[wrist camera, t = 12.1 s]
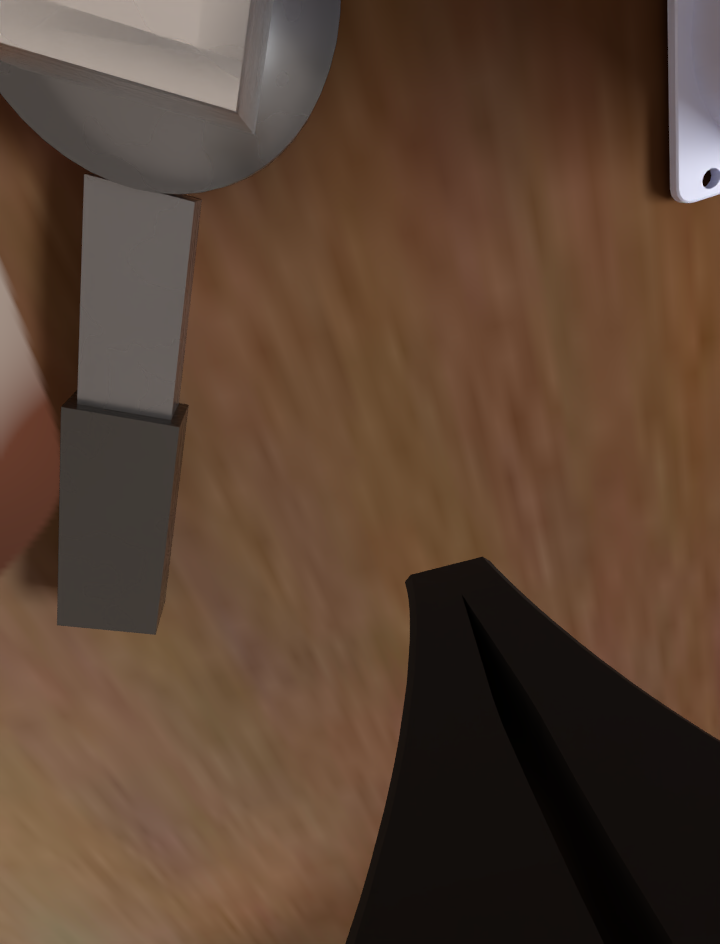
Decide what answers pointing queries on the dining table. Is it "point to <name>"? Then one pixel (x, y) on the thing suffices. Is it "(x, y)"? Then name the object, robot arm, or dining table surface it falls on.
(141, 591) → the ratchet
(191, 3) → the white boxy piece
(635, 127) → the dining table surface
